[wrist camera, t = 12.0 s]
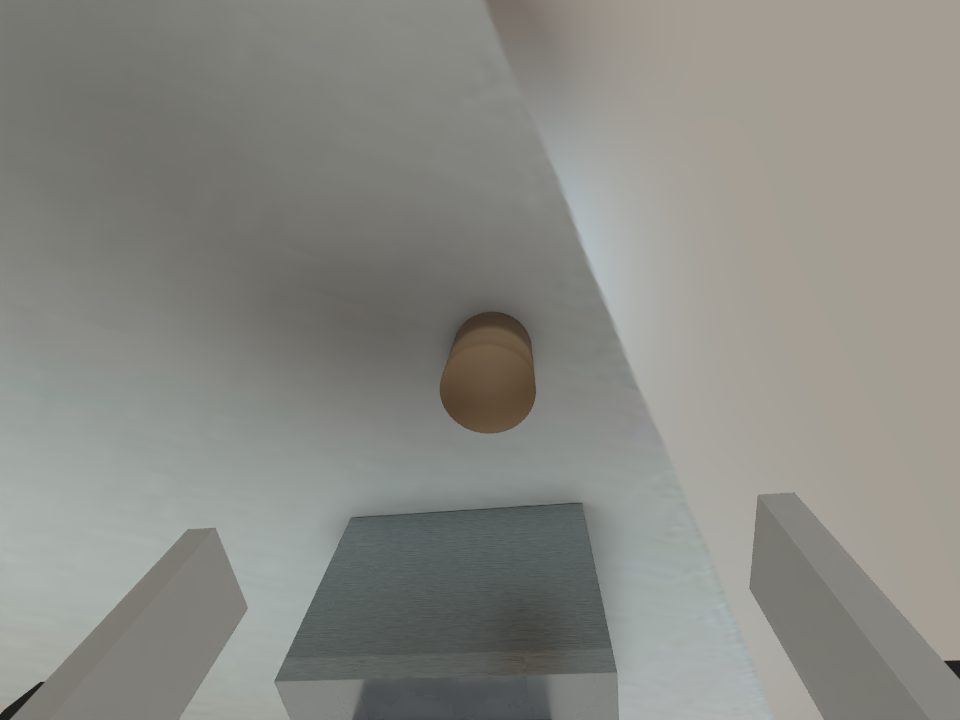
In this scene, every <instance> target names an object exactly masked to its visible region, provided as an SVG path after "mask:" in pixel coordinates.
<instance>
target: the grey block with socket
mask: <svg viewBox="0 0 960 720" xmlns="http://www.w3.org/2000/svg"><path fill="white" fill-rule="evenodd" d="M274 682H275V685H276V687H277V690H278V692H279V694H280V697H281V699H282V701H283V704H284V706H285V708H286V711H287V713H288V715H289V718H290V720H619V709H618V684H617V670H616V665H615V661H614V656H613V651H612V646H611V641H610V636H609V632H608V627H607V622H606V617H605V612H604V608H603V603H602V598H601V593H600V588H599V584H598V579H597V574H596V569H595V564H594V560H593V555H592V550H591V545H590V540H589V536H588V531H587V526H586V521H585V516H584V511H583V507H582V503H575V504H560V505H545V506H529V507H514V508H498V509H483V510H468V511H452V512H437V513H422V514H406V515H391V516H375V517H360V518H351V519H350V521H349V523H348V525H347V527H346V530H345V532H344V534H343V536H342V538H341V540H340V542H339V544H338V547H337V549H336V551H335V553H334V555H333V557H332V559H331V562H330V564H329V566H328V568H327V570H326V572H325V574H324V576H323V579H322V581H321V583H320V585H319V587H318V589H317V591H316V594H315V596H314V598H313V600H312V602H311V604H310V606H309V608H308V611H307V613H306V615H305V617H304V619H303V621H302V623H301V625H300V628H299V630H298V632H297V634H296V636H295V638H294V640H293V643H292V645H291V647H290V649H289V651H288V653H287V655H286V657H285V660H284V662H283V664H282V666H281V668H280V670H279V672H278V675H277V677H276V679H275V681H274Z"/></svg>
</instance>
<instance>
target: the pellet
mask: <svg viewBox="0 0 960 720" xmlns="http://www.w3.org/2000/svg"><path fill="white" fill-rule="evenodd" d="M535 395H536V386H535V377H534V367H533V357H532V347H531V341H530V338H529V335H528V333H527V331H526V330H525V328H524V327H523V326H522V325H521V324H520V323H519V322H518V321H517V320H516V319H514V318H513V317H511V316H509V315H506V314H503V313H498V312H487V313H482V314H478V315H476V316H474V317H472V318H470V319H469V320H468V321H466V322H465V323H464V324H463V325H462V326H461V328H460V329H459V331H458V333H457V335H456V338H455V341H454V343H453V346H452V349H451V352H450V355H449V358H448V361H447V363H446V366H445V369H444V372H443V375H442V378H441V382H440V396H441V400H442V403H443V405H444V408H445V409H446V411H447V412H448V414H449V415H450V416H451V417H452V418H453V419H454V420H455V421H456V422H457V423H458V424H460V425H461V426H463V427H465V428H467V429H469V430H472V431H475V432H480V433H499V432H503V431H506V430H509V429H511V428H513V427H515V426H516V425H518V424H519V423H520V422H522V421H523V420H524V419H525V418H526V416H527V415H528V414H529V412H530V411H531V409H532V407H533V404H534V401H535Z"/></svg>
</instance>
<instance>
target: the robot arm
mask: <svg viewBox="0 0 960 720" xmlns="http://www.w3.org/2000/svg"><path fill="white" fill-rule="evenodd" d="M750 590H751V592H752V594H753V595H754V597H755V599H756V601H757V602H758V604H759V606H760V608H761V609H762V611H763V613H764V615H765V617H766V618H767V620H768V622H769V623H770V625H771V627H772V629H773V631H774V632H775V634H776V636H777V637H778V639H779V641H780V643H781V645H782V646H783V648H784V650H785V652H786V653H787V655H788V657H789V658H790V661H791V662H792V664H793V666H794V668H795V669H796V671H797V673H798V675H799V676H800V678H801V680H802V682H803V683H804V685H805V687H806V689H807V690H808V692H809V694H810V696H811V697H812V699H813V701H814V703H815V704H816V706H817V708H818V710H819V711H820V713H821V715H822V717H823V719H824V720H960V661H943V660H942V659H941V658H940V656H939V655H938V654H937V653H936V652H935V651H934V650H933V649H932V648H931V647H930V645H929V644H928V643H927V642H926V641H925V640H924V639H923V637H922V636H921V635H920V634H919V633H918V632H917V631H916V629H915V628H914V627H913V626H912V625H911V624H910V623H909V621H908V620H907V619H906V618H905V617H904V616H903V615H902V614H901V613H900V611H899V610H898V609H897V608H896V607H895V606H894V605H893V603H891V601H890V600H889V599H888V598H887V597H886V596H885V594H884V593H883V592H882V591H881V590H880V589H879V588H878V586H877V585H876V584H875V583H874V582H873V581H872V580H871V579H870V577H869V576H868V575H867V574H866V573H865V572H864V571H863V570H862V568H861V567H860V566H859V565H858V564H857V563H856V562H855V561H854V559H853V558H852V557H851V556H850V555H849V554H848V553H847V552H846V550H845V549H844V548H843V547H842V546H841V545H840V544H839V542H838V541H837V540H836V539H835V538H834V537H833V536H832V535H831V533H830V532H829V531H828V530H827V529H826V528H825V527H824V526H823V524H822V523H821V522H820V521H819V520H818V519H817V518H816V516H815V515H814V514H813V513H812V512H811V511H810V510H809V509H808V508H807V507H806V505H805V504H804V503H803V502H802V501H801V500H800V498H799V497H798V496H797V495H796V494H795V493H780V494H763V495H758V499H757V510H756V522H755V532H754V544H753V555H752V566H751V578H750ZM247 609H248V607H247V604H246V602H245V599H244V597H243V594H242V592H241V589H240V587H239V584H238V582H237V580H236V577H235V575H234V572H233V570H232V567H231V565H230V562H229V560H228V557H227V555H226V553H225V550H224V548H223V545H222V543H221V540H220V538H219V535H218V533H217V530H216V528H204V529H188V530H187V531H186V532H185V533H184V534H183V535H182V536H181V537H180V539H179V540H178V541H177V542H176V543H175V544H174V545H173V546H172V547H171V548H170V549H169V550H168V551H167V552H166V553H165V555H164V556H163V557H162V558H161V559H160V560H159V561H158V562H157V563H156V564H155V565H154V566H153V567H152V568H151V569H150V571H149V572H148V573H147V574H146V575H145V576H144V577H143V578H142V579H141V580H140V581H139V582H138V583H137V584H136V585H135V587H134V588H133V589H132V590H131V591H130V592H129V593H128V594H127V595H126V596H125V597H124V598H123V599H122V600H121V601H120V603H119V604H118V605H117V606H116V607H115V608H114V609H113V610H112V611H111V612H110V613H109V614H108V615H107V616H106V618H105V619H104V620H103V621H102V622H101V623H100V624H99V625H98V626H97V627H96V628H95V629H94V630H93V631H92V632H91V634H90V635H89V636H88V637H87V638H86V639H85V640H84V641H83V642H82V643H81V644H80V645H79V646H78V647H77V648H76V650H75V651H74V652H73V653H72V654H71V655H70V656H69V657H68V658H67V659H66V660H65V661H64V662H63V663H62V664H61V666H60V667H59V668H58V669H57V670H56V671H55V672H54V673H53V674H52V675H51V676H50V677H49V678H48V679H47V680H46V682H40V683H38V684H37V685H36V686H35V687H33V688H32V689H31V690H29V691H28V692H27V693H25V694H24V695H23V696H22V697H20V698H19V699H18V700H16V701H15V702H14V703H13V704H11V705H10V706H9V707H7V708H6V709H5V710H4V711H3V712H2V713H1V714H0V720H179V718H180V716H181V715H182V713H183V712H184V710H185V708H186V707H187V705H188V704H189V702H190V700H191V699H192V697H193V696H194V694H195V692H196V691H197V689H198V688H199V686H200V684H201V683H202V681H203V680H204V678H205V676H206V675H207V673H208V672H209V670H210V668H211V667H212V665H213V664H214V662H215V660H216V659H217V657H218V656H219V654H220V652H221V651H222V649H223V648H224V646H225V644H226V643H227V641H228V640H229V638H230V636H231V635H232V633H233V632H234V630H235V628H236V627H237V625H238V624H239V622H240V620H241V619H242V617H243V616H244V614H245V612H246V611H247Z"/></svg>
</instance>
